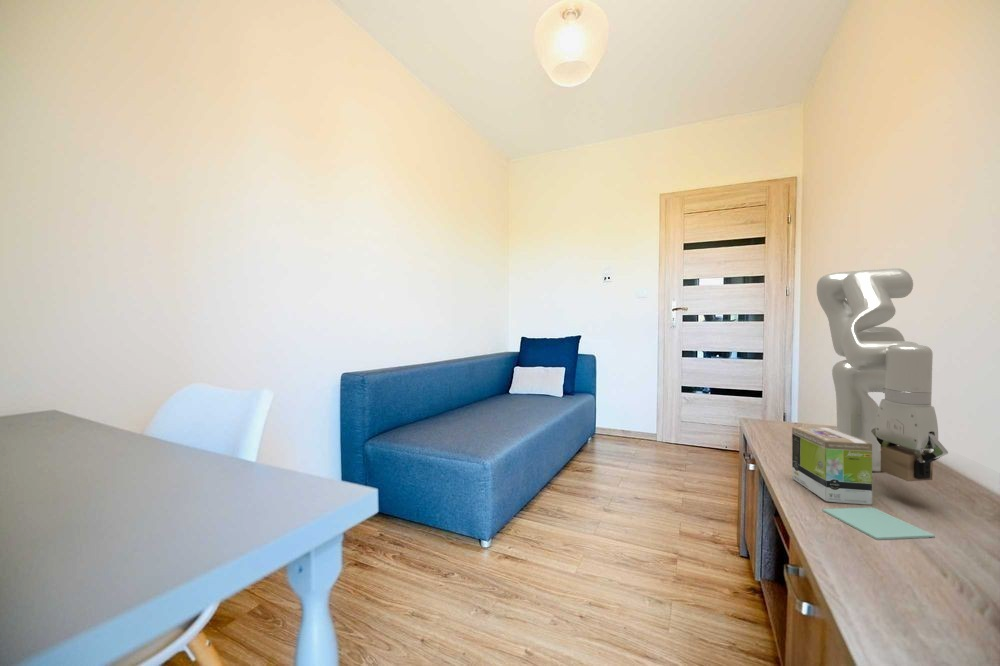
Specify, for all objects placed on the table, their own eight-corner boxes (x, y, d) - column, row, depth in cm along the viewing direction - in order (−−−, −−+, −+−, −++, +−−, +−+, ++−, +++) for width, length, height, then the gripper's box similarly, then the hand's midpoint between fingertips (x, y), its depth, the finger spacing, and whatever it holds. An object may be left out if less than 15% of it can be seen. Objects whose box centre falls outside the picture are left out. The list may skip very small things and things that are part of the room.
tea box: (874, 506, 89) (874, 442, 89) (825, 502, 91) (824, 440, 91) (832, 481, 104) (832, 426, 104) (790, 478, 106) (790, 425, 106)
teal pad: (872, 509, 87) (872, 507, 87) (934, 537, 75) (934, 535, 75) (822, 510, 87) (822, 509, 87) (876, 539, 75) (876, 537, 75)
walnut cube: (903, 469, 94) (904, 445, 94) (932, 479, 88) (933, 454, 88) (880, 470, 94) (880, 446, 94) (907, 481, 88) (908, 455, 88)
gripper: (856, 390, 98) (855, 459, 99) (935, 407, 81) (933, 489, 82) (884, 389, 99) (883, 457, 100) (968, 405, 82) (966, 487, 83)
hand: (905, 471), depth 91 cm, fingers closed on walnut cube, 6 cm apart
